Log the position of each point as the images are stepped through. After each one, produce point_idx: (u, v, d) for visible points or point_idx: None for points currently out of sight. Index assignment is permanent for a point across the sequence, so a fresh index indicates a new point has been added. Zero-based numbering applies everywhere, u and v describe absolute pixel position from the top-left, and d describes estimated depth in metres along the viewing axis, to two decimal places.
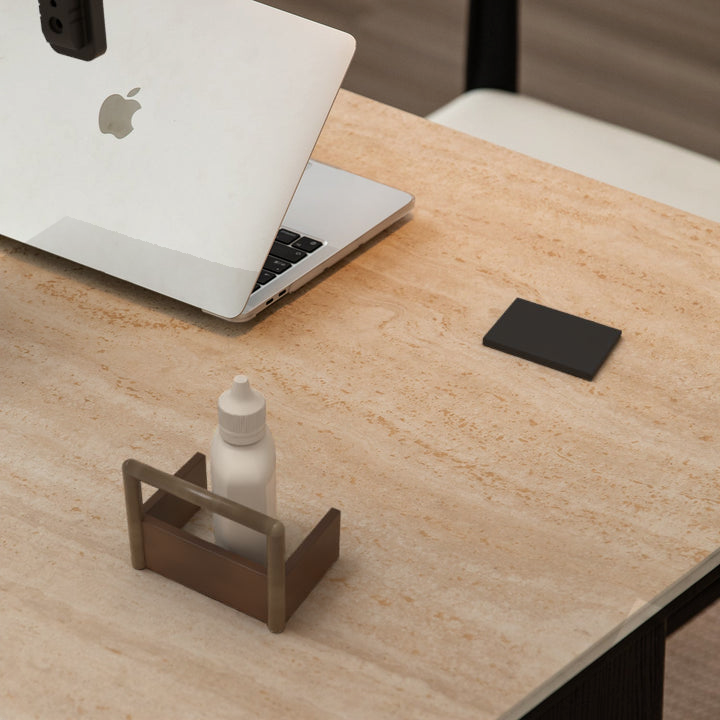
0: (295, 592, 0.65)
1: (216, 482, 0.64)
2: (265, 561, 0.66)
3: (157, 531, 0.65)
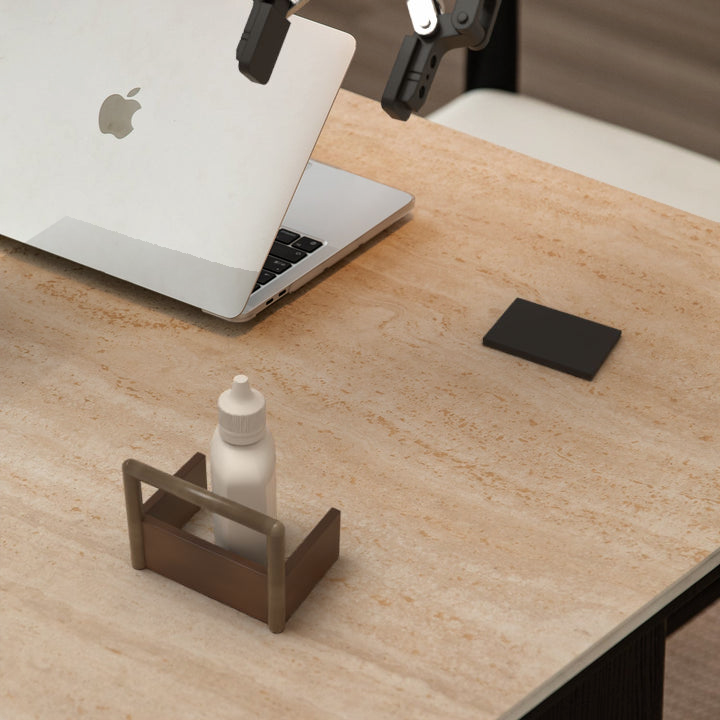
0: (295, 592, 0.65)
1: (216, 482, 0.64)
2: (265, 561, 0.66)
3: (157, 531, 0.65)
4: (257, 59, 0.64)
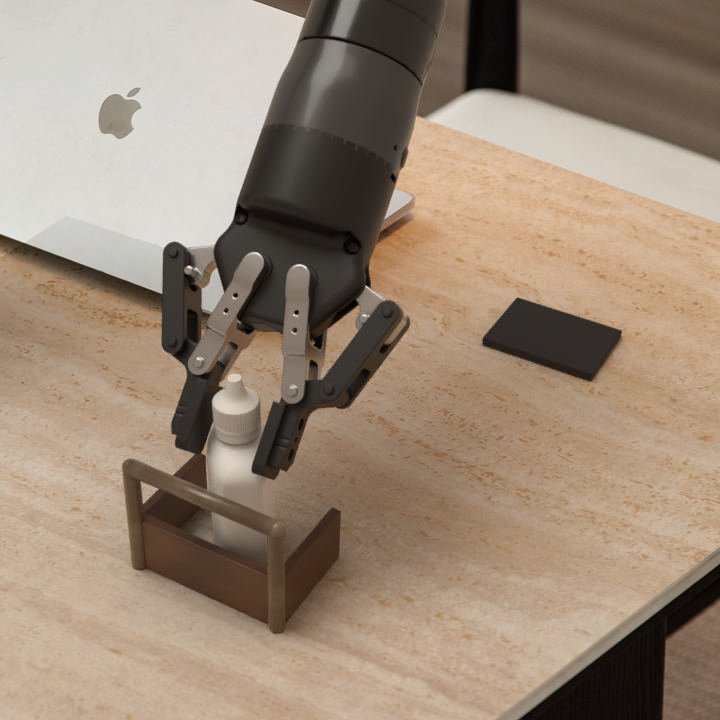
0: (295, 592, 0.65)
1: (212, 482, 0.63)
2: (264, 560, 0.66)
3: (157, 531, 0.65)
4: (194, 435, 0.63)
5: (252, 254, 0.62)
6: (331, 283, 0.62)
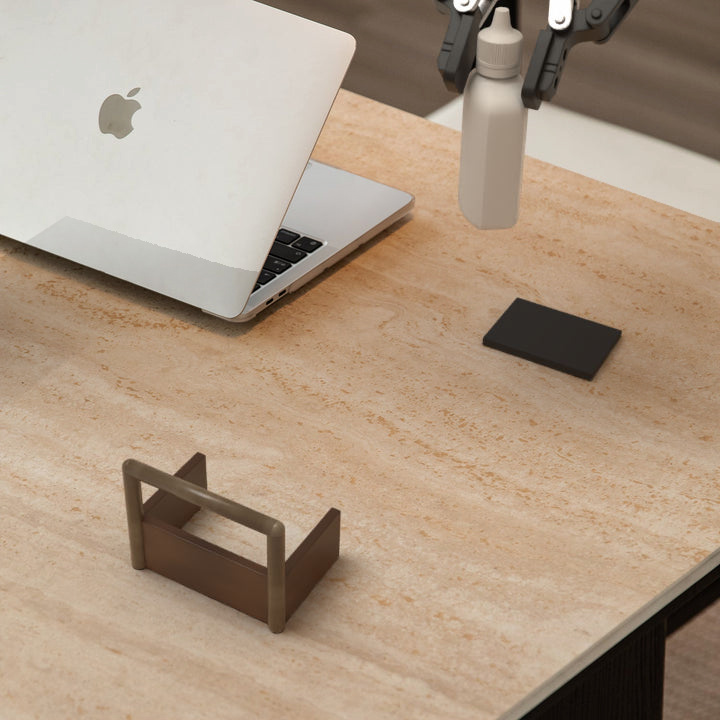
0: (295, 592, 0.65)
1: (475, 117, 0.67)
2: (515, 204, 0.69)
3: (157, 531, 0.65)
4: (460, 69, 0.66)
5: None
6: None
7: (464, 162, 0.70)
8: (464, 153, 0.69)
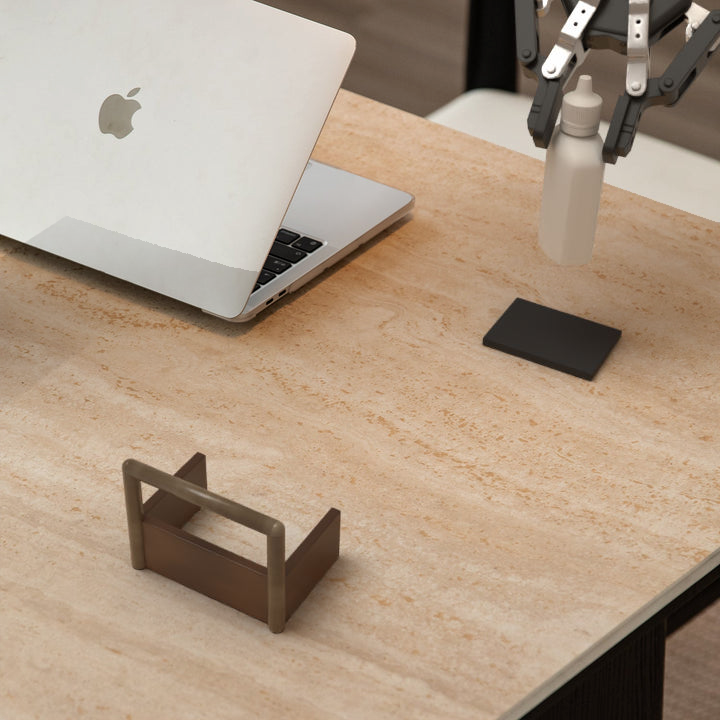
0: (295, 592, 0.65)
1: (560, 169, 0.77)
2: (592, 244, 0.79)
3: (157, 531, 0.65)
4: (547, 128, 0.76)
5: None
6: None
7: (546, 207, 0.79)
8: (547, 199, 0.79)
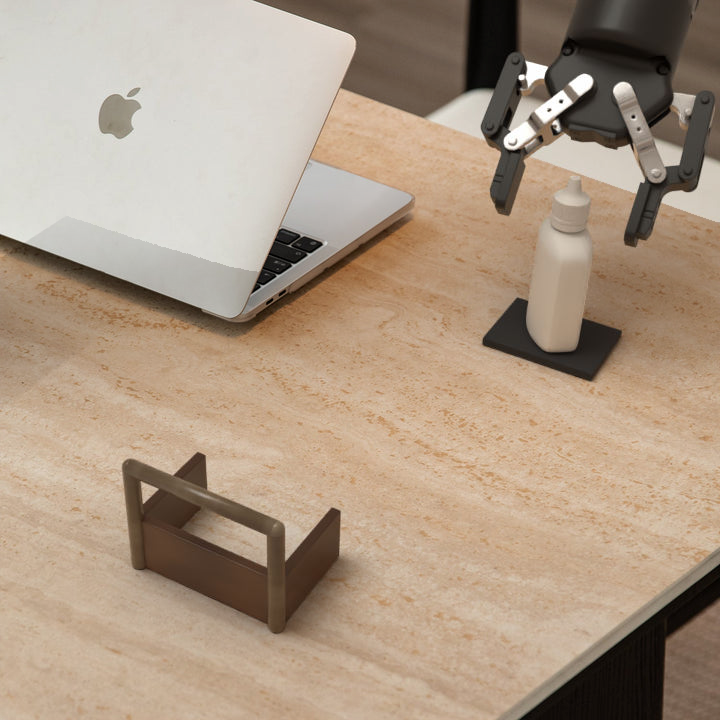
0: (295, 592, 0.65)
1: (549, 263, 0.81)
2: (577, 332, 0.83)
3: (157, 531, 0.65)
4: (509, 197, 0.80)
5: (583, 76, 0.79)
6: (650, 99, 0.79)
7: (535, 296, 0.83)
8: (536, 288, 0.83)
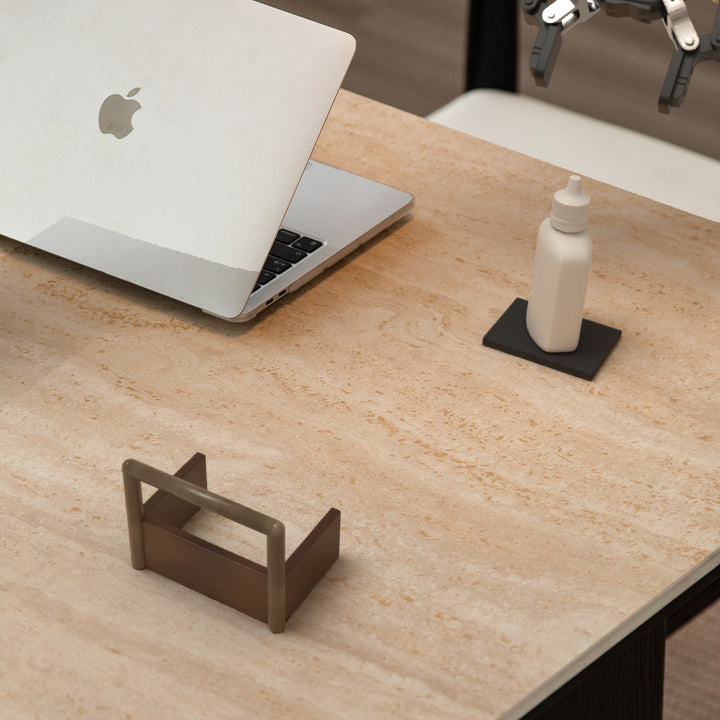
0: (295, 592, 0.65)
1: (549, 263, 0.81)
2: (577, 332, 0.83)
3: (157, 531, 0.65)
4: (547, 68, 0.84)
5: None
6: None
7: (535, 296, 0.83)
8: (536, 288, 0.83)
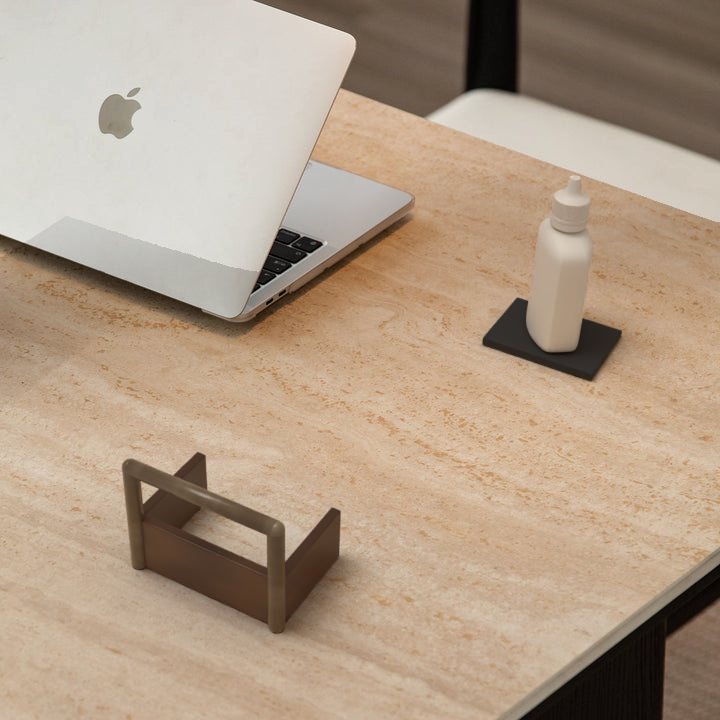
0: (295, 592, 0.65)
1: (549, 263, 0.81)
2: (577, 332, 0.83)
3: (157, 531, 0.65)
4: None
5: None
6: None
7: (535, 296, 0.83)
8: (536, 288, 0.83)
